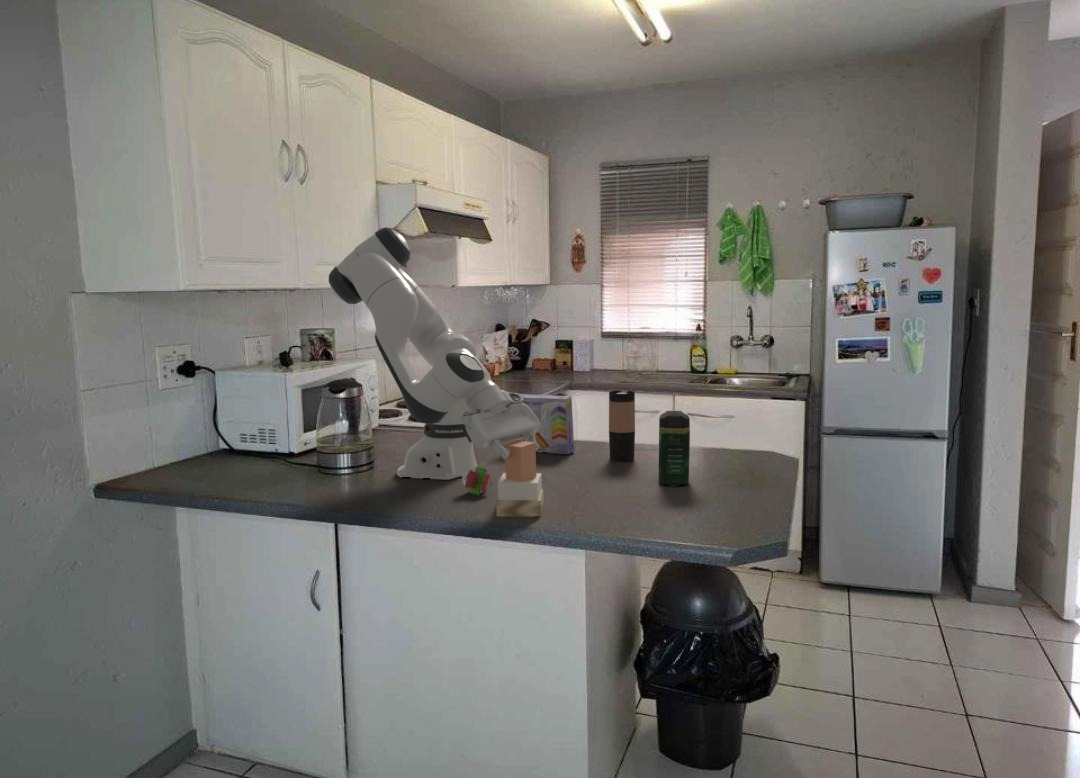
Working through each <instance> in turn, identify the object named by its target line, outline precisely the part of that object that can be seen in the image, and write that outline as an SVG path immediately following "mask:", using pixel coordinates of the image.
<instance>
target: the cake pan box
mask: <svg viewBox="0 0 1080 778" xmlns="http://www.w3.org/2000/svg"><path fill="white" fill-rule="evenodd" d="M519 394H520V395H521V396H522V397H523V399H524V400H523V402H522V403H525V404H526V405H528V406H529V407H530V409H531V410H532V411H533V412H534V414H535V415H536V417H537V418H538V420H539V421H540V429H539V430H538V431H537V432H536V433H535V439H536V443H537V444H538V445H539V448H538V449H537V451H536V453H542V452H547V453H546V454H555V453H556V454H558V455H569V454H574V453H575V439H574V437H575V436H574V421H573V419H574V418H573V402H572V400H573V399H572V396H567V395H565V396H564V395H553V394H552V395H551V394H529V393H519ZM517 440H521V441H528V440H526V439H525V438H520V439H516V441H517ZM528 442H529V441H528Z"/></svg>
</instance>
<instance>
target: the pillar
mask: <svg viewBox="0 0 1080 778" xmlns="http://www.w3.org/2000/svg"><path fill="white" fill-rule="evenodd" d="M503 447H504V448H505V449H507V448H508V449H509V450H510V452H511V453H512V455H511V456H510V458H508V459H504V465H505V467H504V468H505V469H504V470H505V473H506V479H511V480H516V481H521V482H523V481H526V480H528V479H531V478H534V477H536V476H537V475H536V473H537V457H536V456H537V454H536V453H537V452H535V443H534V442H528V441H521V440H517V439H516V440H513V441H510V442H508V443H505V444H504V446H503Z"/></svg>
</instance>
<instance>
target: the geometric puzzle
mask: <svg viewBox="0 0 1080 778" xmlns="http://www.w3.org/2000/svg"><path fill="white" fill-rule="evenodd" d="M468 472H469V474H468ZM467 474H468V475H467ZM490 475H491V474H489V473H488V470H487V468H483V467H479V466H477V467H476V468H475V472H474V471H470V470H469V471H467V472H464V474H463V476H461V478H462V479H461V484H463V486H464V487H465V489H466V490H467V491H468V493H469V492H470V494H472V493H473V495H475V496H478V497H480V496H481V495H483V493H485V492H486V491H487V490H488V489H489V487H488V485H490V486H493V482H490V483H489V480H490V477H491V476H490ZM480 491H482V493H481V492H480Z"/></svg>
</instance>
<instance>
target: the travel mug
mask: <svg viewBox="0 0 1080 778" xmlns="http://www.w3.org/2000/svg"><path fill="white" fill-rule="evenodd" d="M635 398H636V394H635V391H633V390H628V391H626V392H624V391H622V390H610V391H609V392H608V442H609V443H608V445H609V446H608V448H609V459H611V461H612V460H615V461H614V462H617V461H628V462H630V461H629V460H632V461H634V460H633V459H635V448H636V447H635V446H636V445H635V443H636V442H635V440H636V438H635V437H636V408H635V407H636V404H635V403H636V401H635V400H636V399H635Z"/></svg>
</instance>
